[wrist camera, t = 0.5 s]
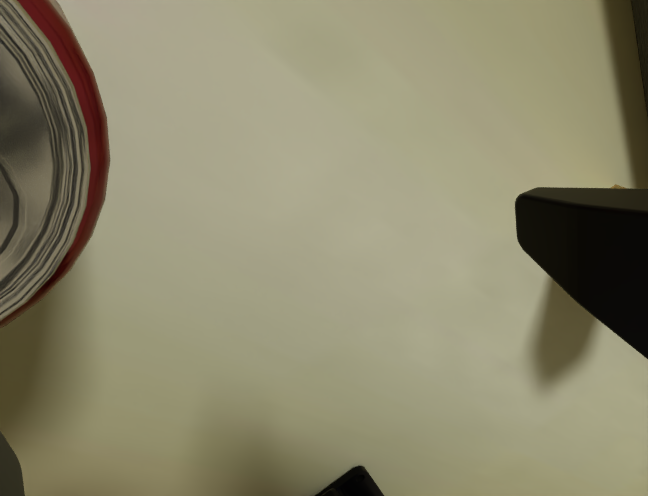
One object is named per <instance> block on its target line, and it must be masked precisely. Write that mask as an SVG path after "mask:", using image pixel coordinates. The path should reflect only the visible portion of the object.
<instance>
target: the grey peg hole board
mask: <svg viewBox="0 0 648 496" xmlns="http://www.w3.org/2000/svg"><path fill="white" fill-rule="evenodd" d="M632 7H633V14H634V21H635V28H636V35H637V42H638V50H639V57H640V64H641V71H642V78H643V85H644V92H645V99H646V107H647V114H648V0H632Z"/></svg>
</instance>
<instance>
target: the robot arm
mask: <svg viewBox="0 0 648 496" xmlns="http://www.w3.org/2000/svg"><path fill="white" fill-rule="evenodd" d="M515 214H516V230H517V239H518V242H519V244H520V246H521V247H522V249H523V250H524V251H525V252H526V253H527V254H528V255H529V256H530V257H531V258H532V259H533V260H534V261H535V262H536V263H537V264H538V265H539V266H540V267H541V268H542V269H543V270H544V271H545V272H546V273H547V274H548V275H549V276H550V277H551V278H552V279H554V280H555V281H556V282H557V283H558V284H559V285H560V286H561V287H562V288H563V289H564V290H565V291H566V292H567V293H568V294H569V295H570V296H571V297H572V298H573V299H574V300H575V301H576V302H577V303H579V304H580V305H581V306H582V307H583V308H585V309H586V310H587V311H588V312H589V313H591V314H592V315H593V316H594V317H596V318H597V319H598V320H599V321H601V322H602V323H603V324H604V325H606V326H607V327H608V328H609V329H611V330H612V331H613V332H614V333H616V334H617V335H618V336H619V337H621V338H622V339H623V340H624V341H626V342H627V343H628V344H629V345H631V346H632V347H633V348H634V349H636V350H637V351H638V352H639V353H641V354H642V355H643V356H644V357H646V358H647V359H648V189H617V188H550V187H538V188H534V189H532V190H529V191H527V192H524V193H522V194H520V195H519V196H518V197H517V198H516V201H515ZM0 496H25V494H24V486H23V478H22V470H21V466H20V463H19V460H18V458H17V456H16V454H15V453H14V451H13V450H12V448H11V447H10V445H9V443H8V442H7V440H6V439H5V437H4V436H3V434H2V433H1V431H0ZM317 496H384V495H383V493H382V492H381V490H380V489H379V488H378V486H377V485H376V483H375V482H374V480H373V479H372V477H371V476H370V475H369V473H368V472H367V470H366V469H365V467H363V466H357V467H355V468H353V469H352V470H351V471H349V472H348V473H346V474H345V475H344V476H342V477H341V478H340V479H338V480H337V481H336V482H334V483H333V484H332V485H330V486H329V487H328V488H326V489H325V490H323V491H322V492H321V493H319V494H318V495H317Z"/></svg>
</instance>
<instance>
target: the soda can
mask: <svg viewBox="0 0 648 496" xmlns="http://www.w3.org/2000/svg"><path fill="white" fill-rule="evenodd" d="M109 166H110V151H109V139H108V126H107V117H106V113H105V110H104V106H103V103H102V100H101V96H100V93H99V89H98V86H97V83H96V79H95V76H94V73H93V71H92V69H91V67H90V65H89V63H88V61H87V59H86V56H85V54H84V52H83V50H82V48H81V46H80V44H79V42H78V40H77V38H76V36H75V34H74V32H73V30H72V28H71V26H70V24H69V22H68V20H67V18H66V16H65V14H64V12H63V10H62V8H61V7H60V5H59V3H58V2H57V1H56V0H0V328H2V327H4V326H6V325H7V324H8V323H10V322H11V321H13V320H14V319H15V318H17V317H18V316H20V315H21V314H22V313H24V312H25V311H27V310H28V309H29V308H31V307H32V306H34V305H35V304H36V303H38V302H39V301H41V300H42V299H43V298H44V297H45V296H46V295H47V294H48V293H49V292H50V291H51V290H52V289H53V288H54V287H55V286H56V285H57V284H58V283H59V282H60V280H61V279H62V278H63V277H64V276H65V275H66V274H67V273H68V272H69V271H70V270H71V269H72V267H73V265H74V264H75V262H76V261H77V259H78V257H79V256H80V254H81V253H82V251H83V250H84V248H85V246H86V245H87V243H88V242H89V240H90V238H91V237H92V234H93V232H94V229H95V226H96V223H97V220H98V218H99V215H100V212H101V209H102V207H103V204H104V201H105V196H106V188H107V181H108V173H109Z"/></svg>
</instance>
